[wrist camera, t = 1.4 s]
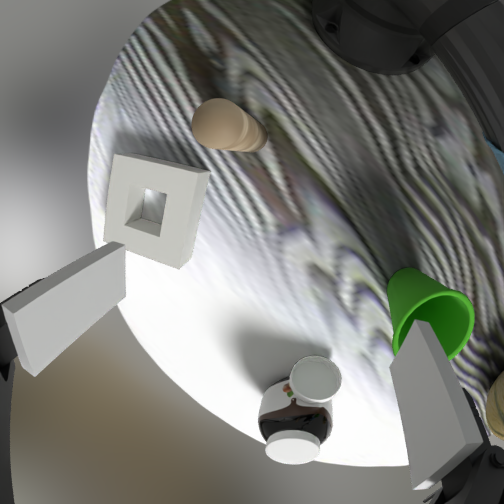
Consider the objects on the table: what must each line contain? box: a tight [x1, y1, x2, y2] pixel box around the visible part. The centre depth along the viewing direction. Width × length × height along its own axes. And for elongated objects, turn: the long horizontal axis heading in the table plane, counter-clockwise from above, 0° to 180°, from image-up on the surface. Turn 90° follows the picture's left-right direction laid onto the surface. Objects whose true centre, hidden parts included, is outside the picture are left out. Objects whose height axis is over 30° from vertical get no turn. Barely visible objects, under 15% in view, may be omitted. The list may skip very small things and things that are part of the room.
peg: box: [192, 98, 267, 152], centre depth 24 cm, size 4×4×13 cm
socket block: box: [103, 153, 211, 269], centre depth 33 cm, size 11×11×4 cm
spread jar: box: [258, 356, 342, 464], centre depth 34 cm, size 12×11×12 cm
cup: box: [387, 268, 474, 361], centre depth 27 cm, size 9×9×11 cm
